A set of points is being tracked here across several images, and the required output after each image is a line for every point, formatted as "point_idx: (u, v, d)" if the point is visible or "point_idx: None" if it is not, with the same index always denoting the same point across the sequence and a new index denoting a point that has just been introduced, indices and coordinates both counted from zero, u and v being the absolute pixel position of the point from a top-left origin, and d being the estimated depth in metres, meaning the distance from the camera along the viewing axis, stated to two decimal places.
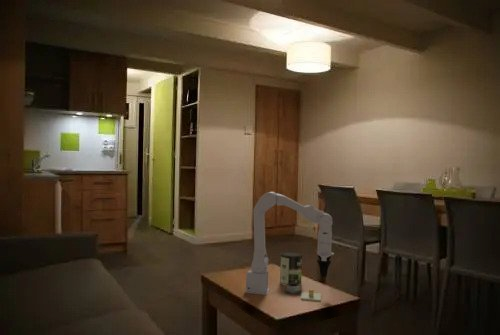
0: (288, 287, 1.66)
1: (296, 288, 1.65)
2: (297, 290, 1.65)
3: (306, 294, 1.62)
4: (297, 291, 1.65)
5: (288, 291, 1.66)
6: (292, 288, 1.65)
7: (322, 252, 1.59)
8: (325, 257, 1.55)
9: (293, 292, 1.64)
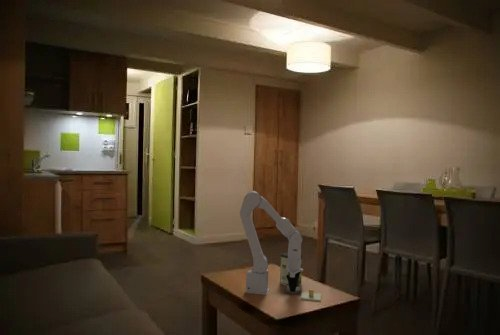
0: (288, 287, 1.66)
1: (296, 288, 1.65)
2: (297, 290, 1.65)
3: (306, 294, 1.62)
4: (297, 291, 1.65)
5: (288, 291, 1.66)
6: None
7: (291, 268, 1.65)
8: (293, 273, 1.60)
9: (293, 292, 1.64)
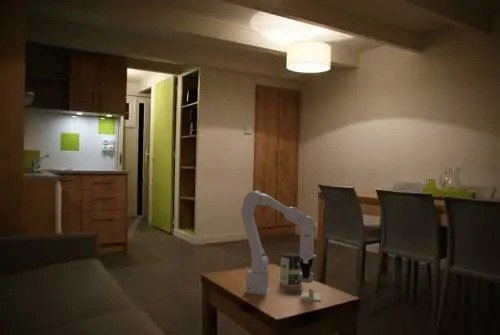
0: (301, 276, 1.61)
1: (309, 277, 1.60)
2: (310, 279, 1.61)
3: (306, 294, 1.62)
4: (310, 280, 1.61)
5: (301, 280, 1.61)
6: None
7: (304, 254, 1.60)
8: (307, 259, 1.56)
9: (306, 281, 1.60)
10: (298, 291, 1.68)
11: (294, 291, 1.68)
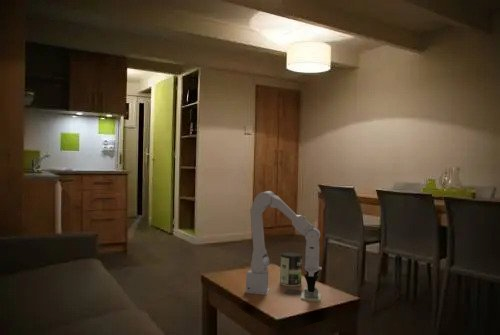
0: (306, 291, 1.59)
1: (314, 292, 1.58)
2: (315, 294, 1.58)
3: None
4: (315, 295, 1.58)
5: (306, 295, 1.59)
6: (310, 292, 1.58)
7: (309, 267, 1.58)
8: (312, 272, 1.54)
9: (312, 297, 1.58)
10: (298, 291, 1.68)
11: (294, 291, 1.68)
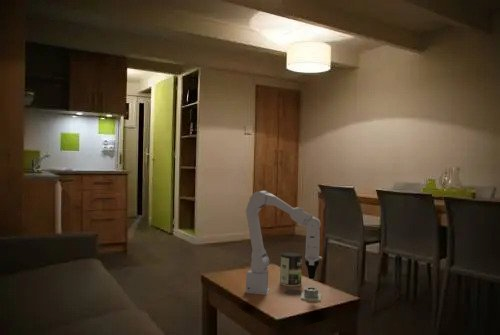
0: (306, 291, 1.59)
1: (314, 292, 1.58)
2: (315, 294, 1.58)
3: None
4: (315, 295, 1.58)
5: (306, 295, 1.59)
6: (310, 292, 1.58)
7: (310, 256, 1.58)
8: (312, 261, 1.54)
9: (312, 297, 1.58)
10: (298, 291, 1.68)
11: (294, 291, 1.68)
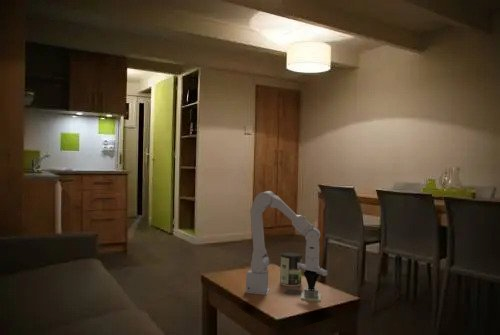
0: (306, 291, 1.59)
1: (314, 292, 1.58)
2: (315, 294, 1.58)
3: None
4: (315, 295, 1.58)
5: (306, 295, 1.59)
6: (310, 292, 1.58)
7: (316, 267, 1.58)
8: (326, 271, 1.56)
9: (312, 297, 1.58)
10: (298, 291, 1.68)
11: (294, 291, 1.68)
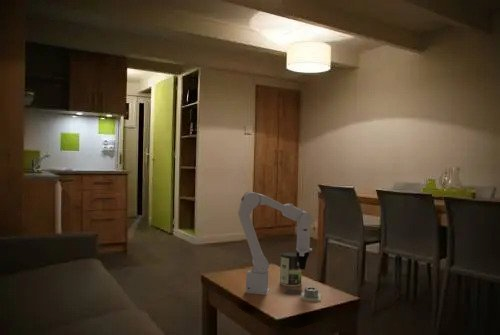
0: (306, 291, 1.59)
1: (314, 292, 1.58)
2: (315, 294, 1.58)
3: None
4: (315, 295, 1.58)
5: (306, 295, 1.59)
6: (310, 292, 1.58)
7: (300, 248, 1.67)
8: (303, 252, 1.62)
9: (312, 297, 1.58)
10: (298, 291, 1.68)
11: (294, 291, 1.68)
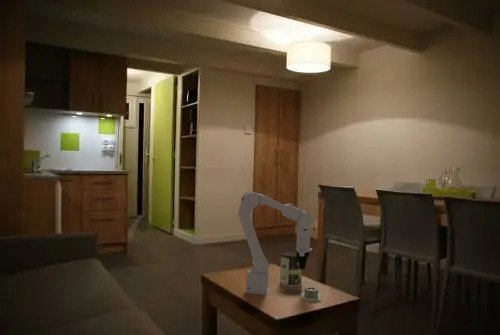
0: (306, 291, 1.59)
1: (314, 292, 1.58)
2: (315, 294, 1.58)
3: None
4: (315, 295, 1.58)
5: (306, 295, 1.59)
6: (310, 292, 1.58)
7: (300, 248, 1.67)
8: (303, 252, 1.62)
9: (312, 297, 1.58)
10: (298, 291, 1.68)
11: (294, 291, 1.68)
